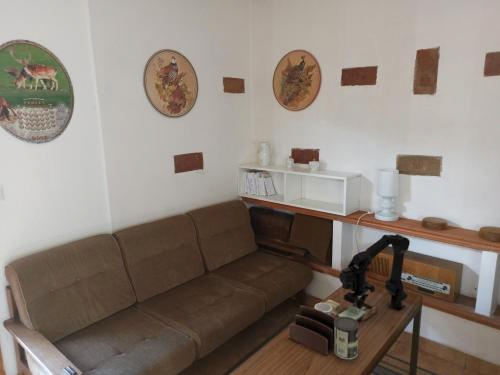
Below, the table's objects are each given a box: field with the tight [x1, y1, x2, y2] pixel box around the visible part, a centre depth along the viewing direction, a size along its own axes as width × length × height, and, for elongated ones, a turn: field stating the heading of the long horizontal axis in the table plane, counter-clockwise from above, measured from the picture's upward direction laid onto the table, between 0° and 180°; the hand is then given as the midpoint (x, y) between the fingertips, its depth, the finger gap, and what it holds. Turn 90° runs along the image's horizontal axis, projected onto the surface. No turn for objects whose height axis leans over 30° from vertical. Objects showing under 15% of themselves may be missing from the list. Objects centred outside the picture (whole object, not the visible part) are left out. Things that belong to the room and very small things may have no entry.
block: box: [324, 299, 342, 316], centre depth 188 cm, size 4×7×5 cm, turn 41°
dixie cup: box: [314, 302, 332, 316], centre depth 175 cm, size 8×8×10 cm
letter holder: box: [288, 305, 336, 356], centre depth 163 cm, size 10×20×14 cm, turn 49°
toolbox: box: [350, 301, 378, 323], centre depth 184 cm, size 12×9×4 cm
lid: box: [337, 304, 366, 321], centre depth 178 cm, size 12×8×4 cm, turn 129°
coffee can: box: [333, 316, 360, 361], centre depth 155 cm, size 10×10×14 cm
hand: (359, 307), depth 181 cm, fingers closed
